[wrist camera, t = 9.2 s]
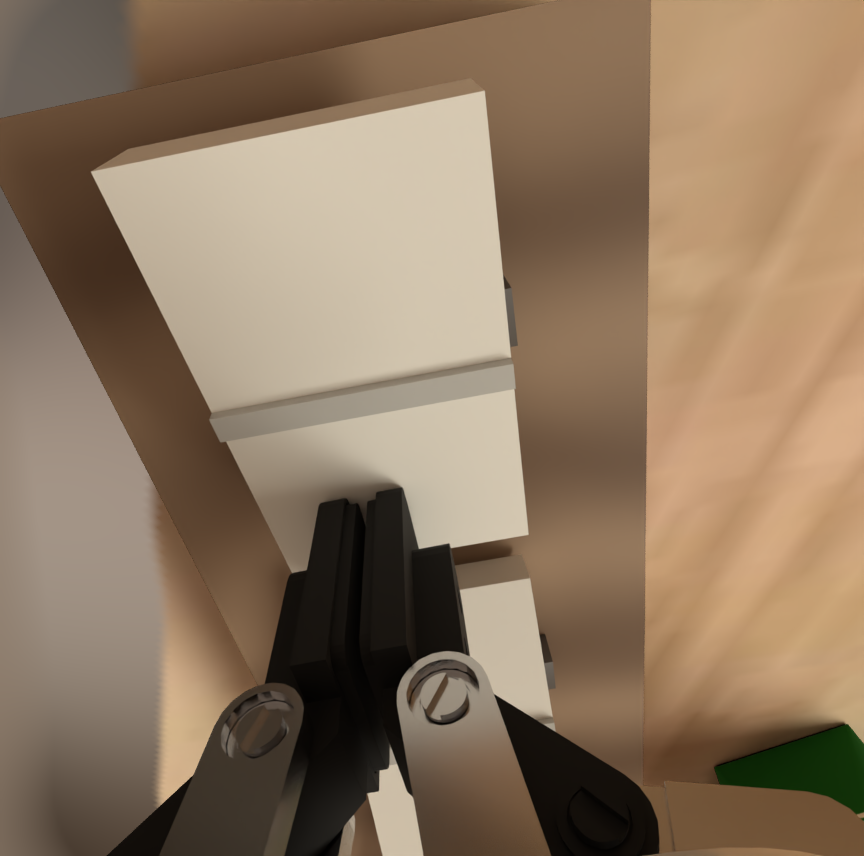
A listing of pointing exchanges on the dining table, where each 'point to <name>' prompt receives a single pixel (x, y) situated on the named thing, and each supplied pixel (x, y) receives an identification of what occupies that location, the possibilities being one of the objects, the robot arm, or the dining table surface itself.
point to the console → (525, 303)
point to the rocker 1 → (341, 307)
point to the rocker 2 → (502, 662)
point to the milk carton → (807, 768)
